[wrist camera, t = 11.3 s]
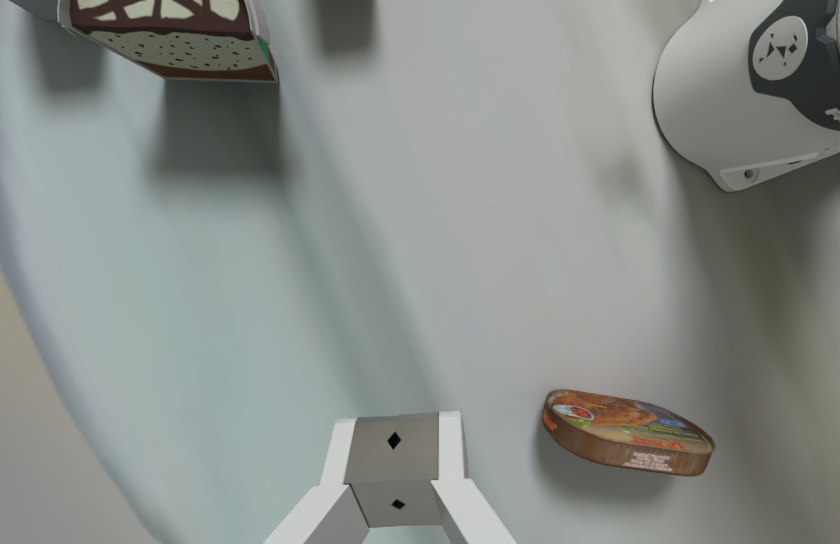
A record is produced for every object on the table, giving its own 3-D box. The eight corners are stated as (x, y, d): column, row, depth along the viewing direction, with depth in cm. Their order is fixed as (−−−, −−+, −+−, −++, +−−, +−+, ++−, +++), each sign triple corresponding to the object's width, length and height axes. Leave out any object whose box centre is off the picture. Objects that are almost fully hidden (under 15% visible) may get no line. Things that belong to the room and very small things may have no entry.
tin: (672, 406, 42) (743, 452, 33) (664, 434, 42) (732, 487, 34) (533, 382, 40) (571, 425, 32) (526, 412, 41) (561, 462, 32)
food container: (294, 7, 34) (256, -80, 24) (297, 84, 35) (260, 30, 25) (141, -1, 33) (36, -94, 23) (147, 78, 34) (48, 21, 24)
